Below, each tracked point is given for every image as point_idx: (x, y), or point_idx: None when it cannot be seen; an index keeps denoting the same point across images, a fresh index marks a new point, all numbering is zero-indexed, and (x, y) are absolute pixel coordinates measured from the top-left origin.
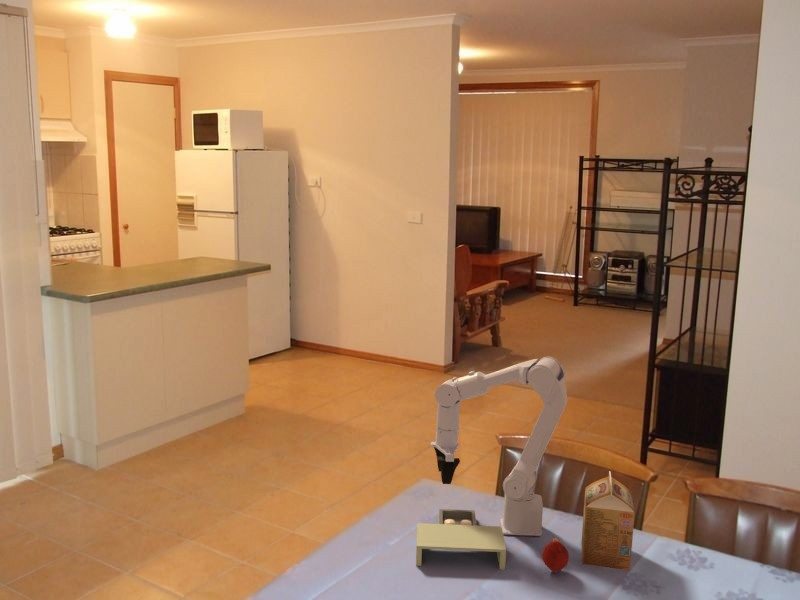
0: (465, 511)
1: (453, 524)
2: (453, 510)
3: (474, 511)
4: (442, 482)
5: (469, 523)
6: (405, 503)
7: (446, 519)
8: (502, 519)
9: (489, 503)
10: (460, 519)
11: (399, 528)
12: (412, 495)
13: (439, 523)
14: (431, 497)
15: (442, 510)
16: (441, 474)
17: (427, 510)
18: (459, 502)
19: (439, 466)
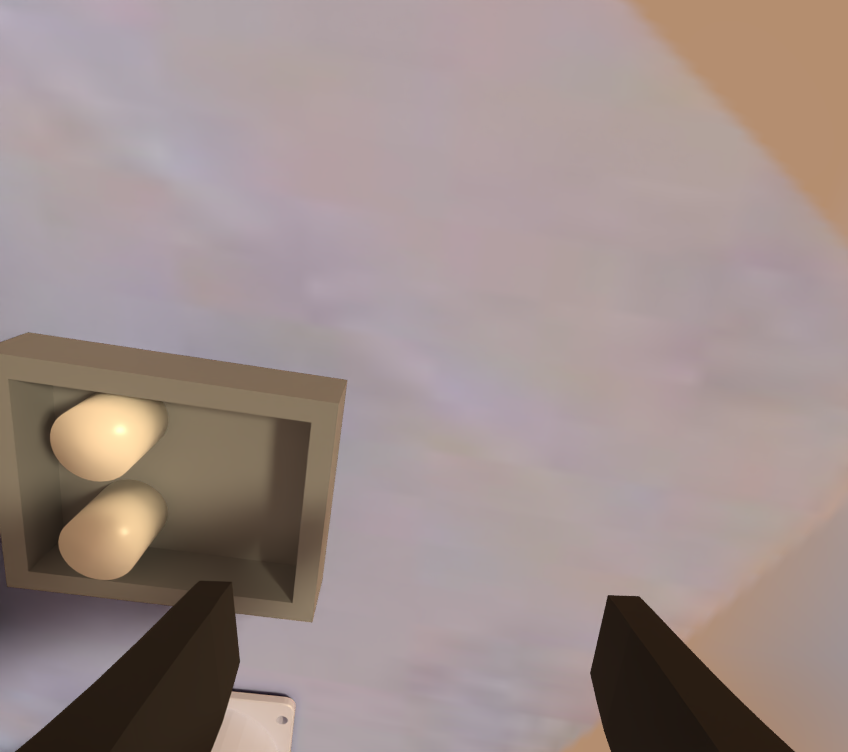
0: (296, 568)
1: (66, 462)
2: (313, 497)
3: (294, 619)
4: (190, 591)
5: (80, 565)
6: (606, 150)
7: (296, 422)
8: (276, 713)
9: (512, 684)
10: (297, 506)
11: (140, 23)
12: (740, 235)
13: (150, 365)
14: (667, 377)
15: (311, 422)
16: (80, 696)
17: (458, 314)
18: (552, 539)
19: (638, 660)
